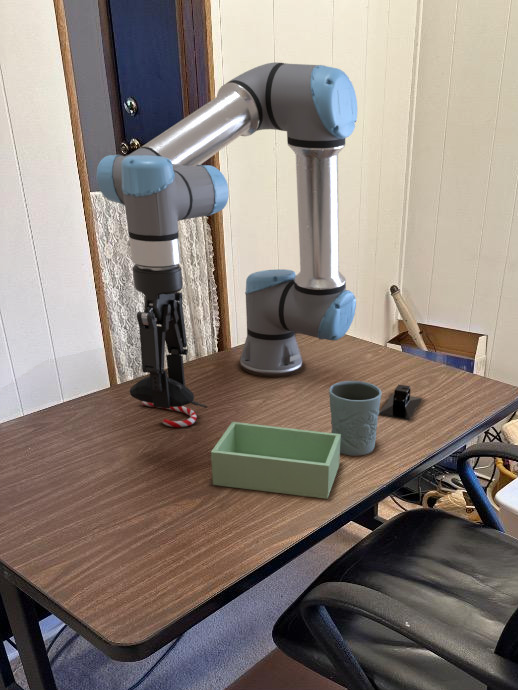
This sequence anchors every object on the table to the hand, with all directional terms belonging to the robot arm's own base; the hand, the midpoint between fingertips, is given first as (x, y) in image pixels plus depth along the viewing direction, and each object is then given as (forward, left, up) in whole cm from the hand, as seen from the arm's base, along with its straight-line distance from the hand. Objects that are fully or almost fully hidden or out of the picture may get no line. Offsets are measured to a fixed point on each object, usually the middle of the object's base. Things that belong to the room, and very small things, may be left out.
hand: (169, 398), depth 122 cm
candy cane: (-18, -9, -13) cm, 24 cm away
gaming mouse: (0, 0, 0) cm, 1 cm away
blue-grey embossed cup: (-14, +31, -13) cm, 37 cm away
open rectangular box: (+1, +20, -12) cm, 23 cm away
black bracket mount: (-36, +39, -13) cm, 55 cm away
